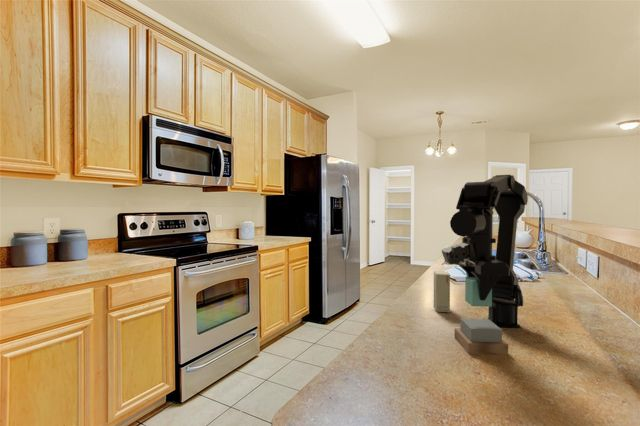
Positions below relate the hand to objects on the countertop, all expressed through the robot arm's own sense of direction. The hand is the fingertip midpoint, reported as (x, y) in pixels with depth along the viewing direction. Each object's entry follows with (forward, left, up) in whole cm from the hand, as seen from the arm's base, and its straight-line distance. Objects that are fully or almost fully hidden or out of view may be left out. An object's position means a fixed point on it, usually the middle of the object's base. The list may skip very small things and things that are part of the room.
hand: (478, 297), depth 81 cm
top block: (0, 0, -10) cm, 10 cm away
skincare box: (0, -27, -12) cm, 30 cm away
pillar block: (0, 0, -2) cm, 2 cm away
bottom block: (0, 0, -12) cm, 13 cm away
